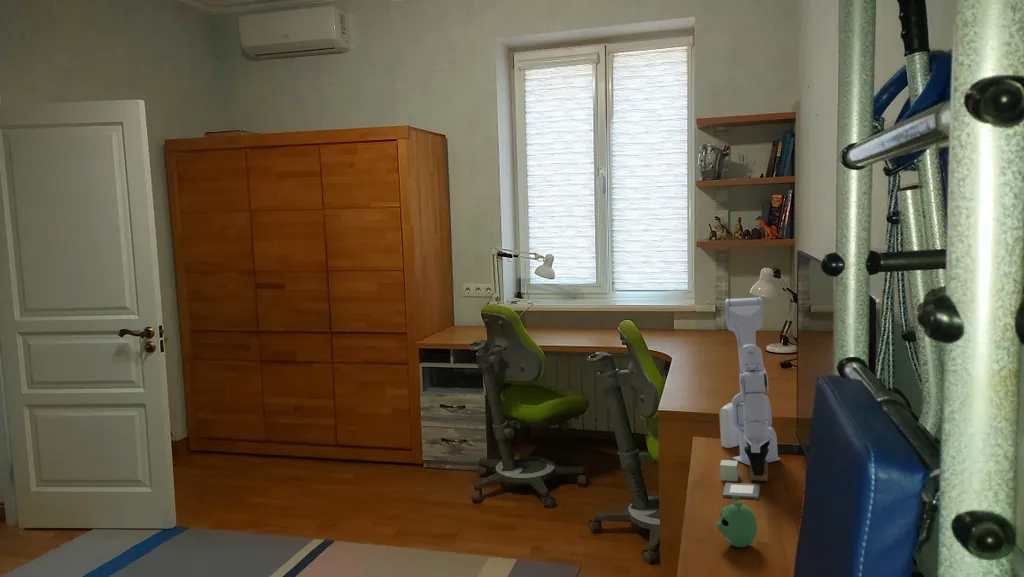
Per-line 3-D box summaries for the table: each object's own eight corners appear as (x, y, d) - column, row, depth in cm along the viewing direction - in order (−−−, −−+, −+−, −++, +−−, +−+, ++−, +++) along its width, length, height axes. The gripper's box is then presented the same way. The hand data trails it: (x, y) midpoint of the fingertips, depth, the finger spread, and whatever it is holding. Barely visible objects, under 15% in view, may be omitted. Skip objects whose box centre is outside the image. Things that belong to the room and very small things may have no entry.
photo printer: (741, 438, 208) (739, 397, 207) (754, 441, 204) (751, 399, 203) (718, 446, 202) (716, 404, 201) (730, 449, 199) (728, 407, 198)
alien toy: (716, 538, 144) (713, 490, 143) (755, 538, 142) (752, 490, 142) (719, 553, 137) (716, 504, 136) (761, 553, 136) (757, 503, 135)
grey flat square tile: (726, 484, 172) (725, 482, 172) (760, 486, 169) (760, 483, 169) (722, 496, 165) (722, 494, 165) (758, 499, 162) (758, 496, 162)
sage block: (722, 475, 180) (721, 460, 179) (738, 476, 178) (737, 460, 178) (720, 480, 176) (719, 465, 176) (737, 481, 174) (736, 466, 174)
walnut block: (751, 474, 177) (750, 459, 177) (768, 475, 175) (767, 459, 175) (750, 480, 173) (749, 464, 173) (767, 480, 172) (766, 465, 171)
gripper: (771, 427, 165) (775, 483, 166) (773, 411, 178) (776, 463, 179) (740, 426, 168) (743, 481, 169) (744, 410, 181) (747, 461, 182)
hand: (758, 472), depth 174 cm, fingers closed on walnut block, 4 cm apart
